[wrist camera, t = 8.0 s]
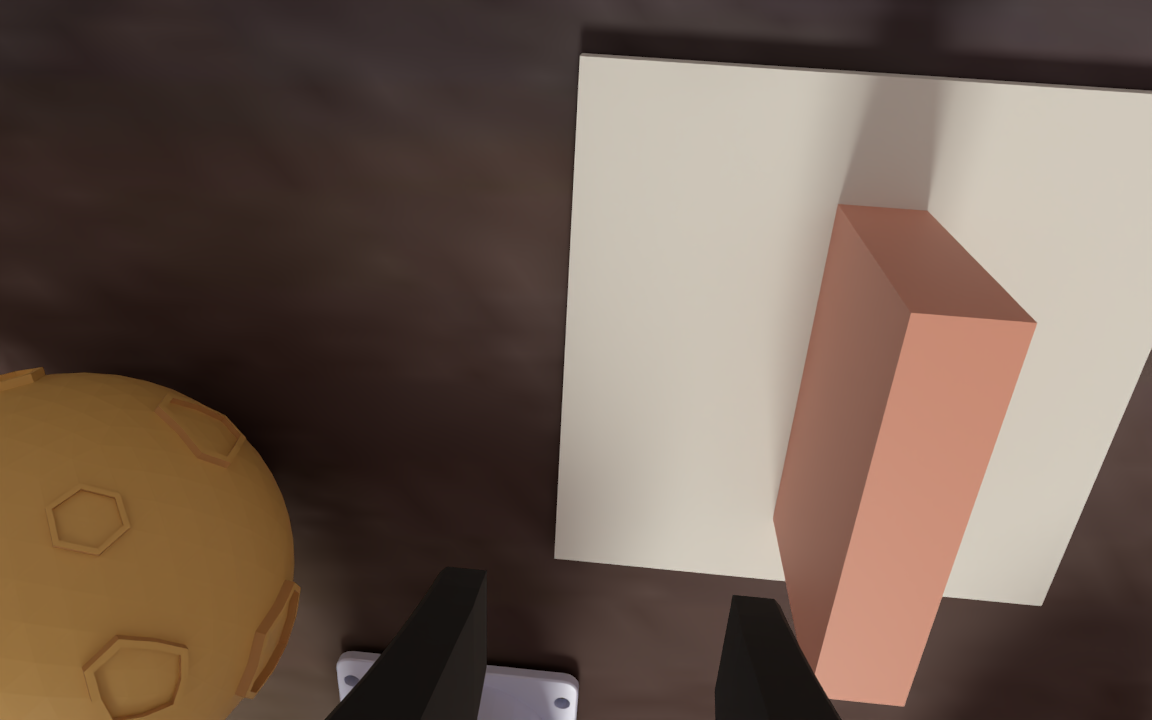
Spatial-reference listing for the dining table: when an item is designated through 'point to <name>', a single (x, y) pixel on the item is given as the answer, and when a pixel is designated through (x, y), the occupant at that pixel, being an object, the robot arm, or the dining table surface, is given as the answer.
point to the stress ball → (134, 554)
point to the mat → (792, 285)
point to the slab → (890, 443)
